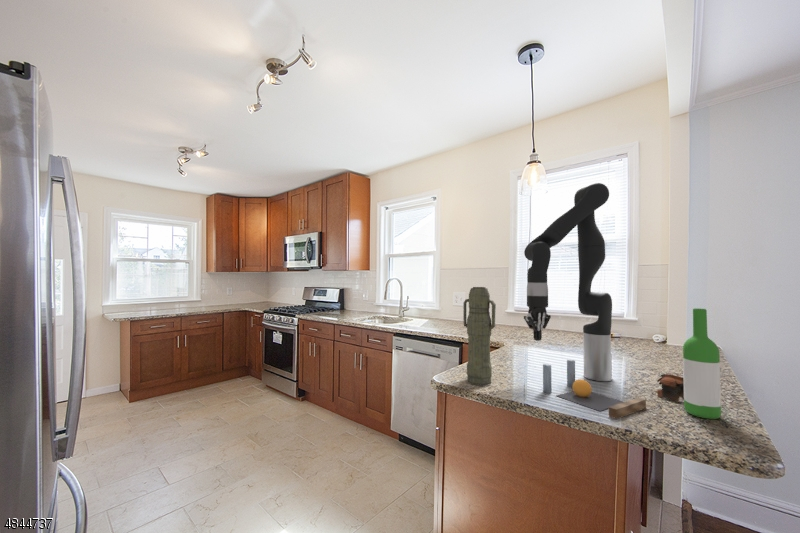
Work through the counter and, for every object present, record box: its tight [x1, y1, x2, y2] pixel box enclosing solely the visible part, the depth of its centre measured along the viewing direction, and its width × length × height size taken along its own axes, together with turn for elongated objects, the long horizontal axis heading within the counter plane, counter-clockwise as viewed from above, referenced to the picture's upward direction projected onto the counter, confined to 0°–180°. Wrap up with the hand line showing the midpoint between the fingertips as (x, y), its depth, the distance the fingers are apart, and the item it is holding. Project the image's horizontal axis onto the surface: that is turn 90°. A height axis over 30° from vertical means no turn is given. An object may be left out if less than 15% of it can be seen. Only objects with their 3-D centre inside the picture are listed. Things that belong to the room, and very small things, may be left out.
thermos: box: [463, 286, 497, 387], centre depth 121 cm, size 9×12×35 cm
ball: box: [571, 378, 593, 397], centre depth 106 cm, size 6×6×6 cm
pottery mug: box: [656, 373, 684, 403], centre depth 106 cm, size 12×10×8 cm
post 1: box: [542, 363, 552, 394], centre depth 111 cm, size 3×3×9 cm
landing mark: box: [556, 390, 624, 412], centre depth 104 cm, size 14×14×1 cm
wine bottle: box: [682, 308, 722, 420], centre depth 93 cm, size 8×8×30 cm
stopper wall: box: [608, 397, 647, 420], centre depth 94 cm, size 16×2×2 cm, turn 119°
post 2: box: [566, 359, 576, 388], centre depth 117 cm, size 3×3×9 cm
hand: (537, 340), depth 124 cm, fingers closed
